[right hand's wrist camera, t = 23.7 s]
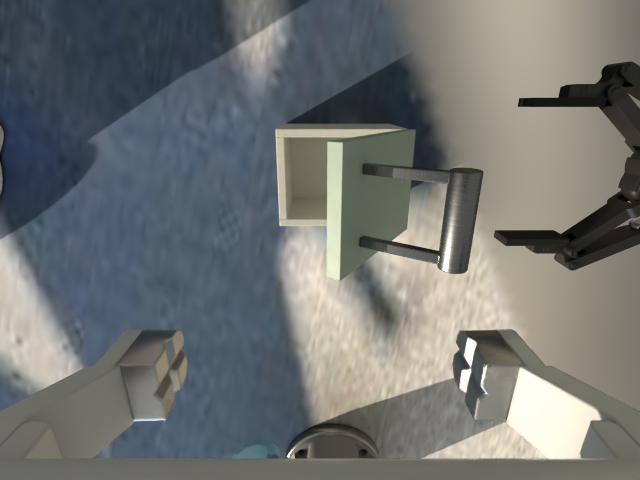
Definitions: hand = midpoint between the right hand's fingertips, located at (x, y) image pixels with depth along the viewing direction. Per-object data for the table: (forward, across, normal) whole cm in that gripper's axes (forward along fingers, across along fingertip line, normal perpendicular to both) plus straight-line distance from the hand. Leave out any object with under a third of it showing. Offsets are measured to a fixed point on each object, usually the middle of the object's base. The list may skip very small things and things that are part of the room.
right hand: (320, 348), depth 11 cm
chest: (+34, +2, 0) cm, 34 cm away
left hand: (+27, +19, 0) cm, 33 cm away
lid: (+19, +4, 0) cm, 19 cm away
